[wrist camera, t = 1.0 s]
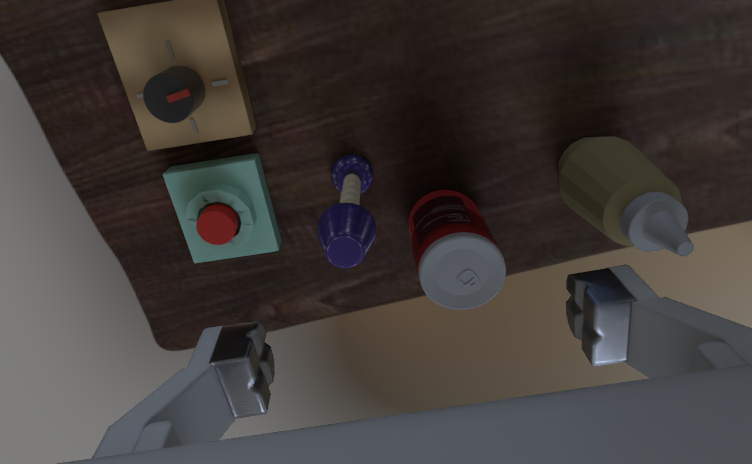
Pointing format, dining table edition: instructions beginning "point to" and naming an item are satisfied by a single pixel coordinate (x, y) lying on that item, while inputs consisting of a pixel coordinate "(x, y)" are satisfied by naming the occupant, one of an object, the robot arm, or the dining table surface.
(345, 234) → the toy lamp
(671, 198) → the squeeze bottle
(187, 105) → the dimmer knob
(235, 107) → the dimmer panel
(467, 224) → the canned food
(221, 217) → the power button
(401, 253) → the dining table surface
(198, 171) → the switch block
